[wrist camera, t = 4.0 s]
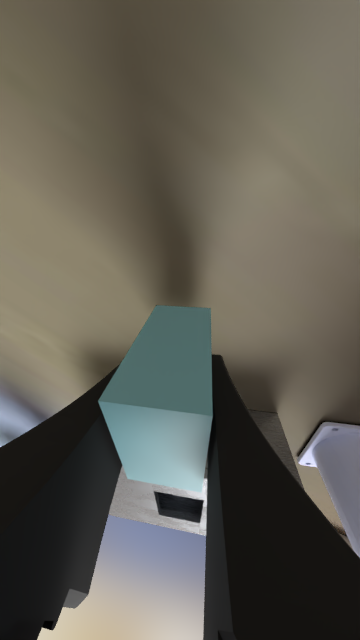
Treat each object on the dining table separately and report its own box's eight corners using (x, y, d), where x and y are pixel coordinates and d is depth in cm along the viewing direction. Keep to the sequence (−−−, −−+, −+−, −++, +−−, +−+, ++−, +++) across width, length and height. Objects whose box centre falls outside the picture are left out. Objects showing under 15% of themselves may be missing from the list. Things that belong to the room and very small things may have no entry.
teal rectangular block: (210, 308, 9) (212, 415, 4) (204, 374, 12) (201, 492, 7) (156, 305, 10) (98, 400, 5) (161, 370, 12) (127, 478, 7)
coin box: (277, 413, 17) (306, 496, 12) (247, 479, 25) (257, 546, 20) (105, 392, 19) (68, 455, 14) (128, 459, 27) (109, 515, 22)
